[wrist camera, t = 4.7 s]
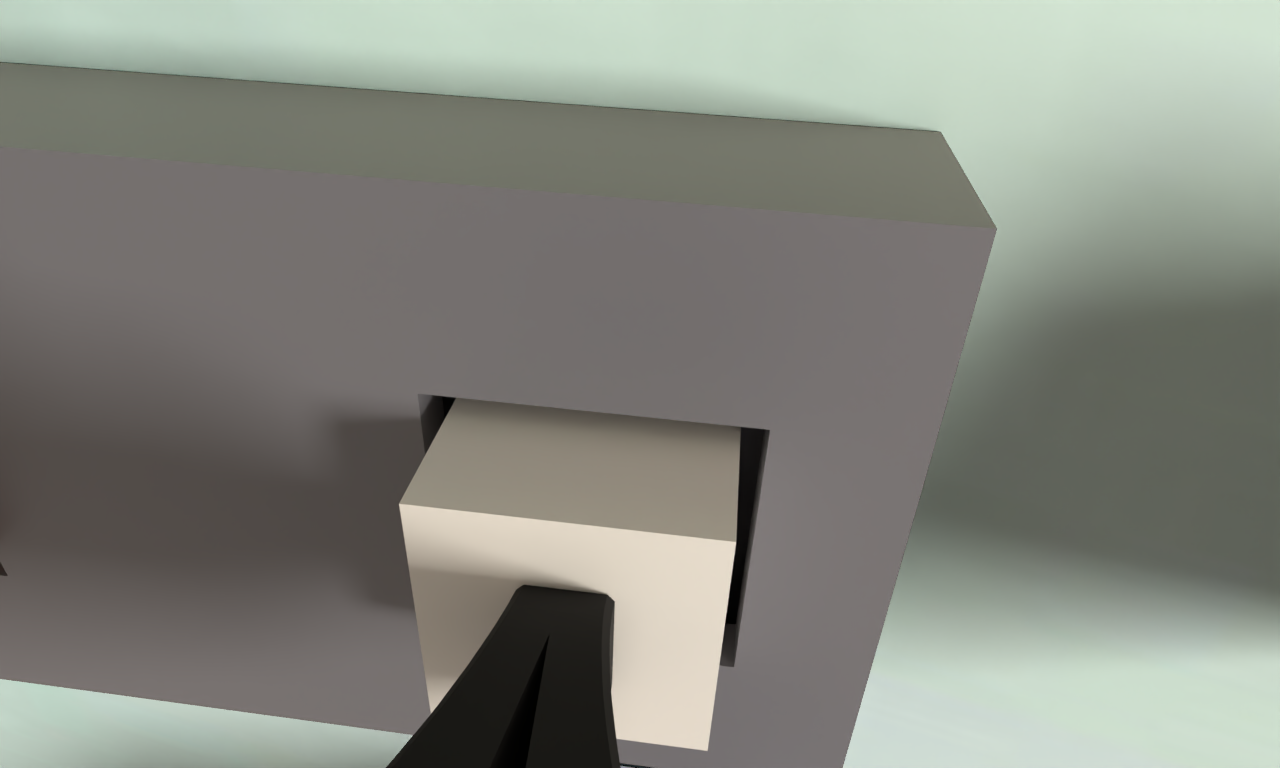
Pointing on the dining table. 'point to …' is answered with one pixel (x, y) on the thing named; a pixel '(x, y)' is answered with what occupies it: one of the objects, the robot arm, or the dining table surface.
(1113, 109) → the dining table surface
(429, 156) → the panel
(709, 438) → the off-white key
